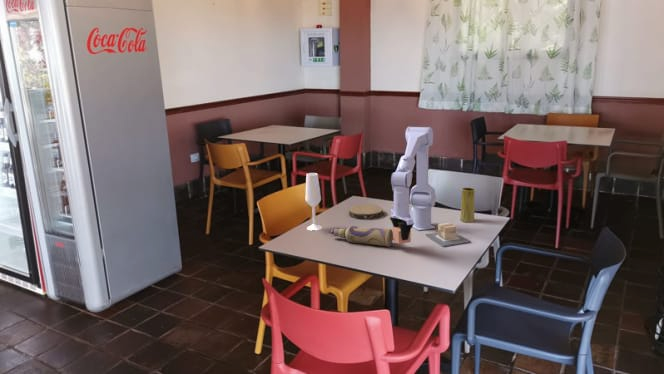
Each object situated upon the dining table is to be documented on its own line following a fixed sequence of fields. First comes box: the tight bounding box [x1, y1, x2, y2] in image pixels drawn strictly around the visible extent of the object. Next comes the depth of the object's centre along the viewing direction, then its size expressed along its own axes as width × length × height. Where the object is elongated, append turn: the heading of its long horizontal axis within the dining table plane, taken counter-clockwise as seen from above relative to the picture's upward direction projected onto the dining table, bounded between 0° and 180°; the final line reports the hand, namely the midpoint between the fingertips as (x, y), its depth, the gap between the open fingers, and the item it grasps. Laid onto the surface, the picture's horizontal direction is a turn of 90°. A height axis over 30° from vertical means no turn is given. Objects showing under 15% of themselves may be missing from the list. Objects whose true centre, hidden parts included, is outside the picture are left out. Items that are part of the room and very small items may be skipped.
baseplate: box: [425, 231, 472, 248], centre depth 201 cm, size 14×12×1 cm
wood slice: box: [348, 203, 384, 221], centre depth 237 cm, size 16×16×3 cm
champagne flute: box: [304, 172, 323, 231], centre depth 218 cm, size 7×7×24 cm
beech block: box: [437, 222, 457, 240], centre depth 201 cm, size 5×5×5 cm
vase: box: [459, 187, 476, 223], centre depth 221 cm, size 6×6×14 cm
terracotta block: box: [392, 226, 412, 245], centre depth 192 cm, size 5×5×5 cm
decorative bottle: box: [330, 225, 394, 248], centre depth 201 cm, size 26×8×7 cm, turn 65°
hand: (401, 237), depth 192 cm, fingers closed on terracotta block, 5 cm apart
